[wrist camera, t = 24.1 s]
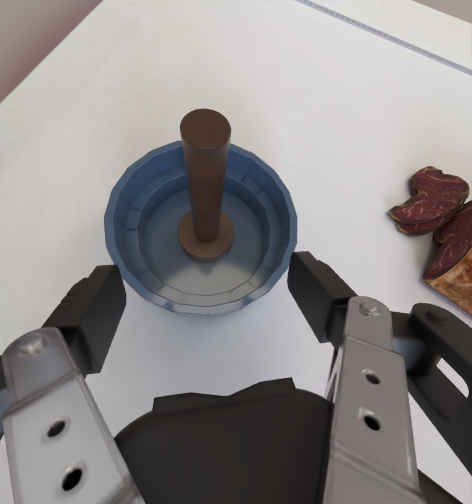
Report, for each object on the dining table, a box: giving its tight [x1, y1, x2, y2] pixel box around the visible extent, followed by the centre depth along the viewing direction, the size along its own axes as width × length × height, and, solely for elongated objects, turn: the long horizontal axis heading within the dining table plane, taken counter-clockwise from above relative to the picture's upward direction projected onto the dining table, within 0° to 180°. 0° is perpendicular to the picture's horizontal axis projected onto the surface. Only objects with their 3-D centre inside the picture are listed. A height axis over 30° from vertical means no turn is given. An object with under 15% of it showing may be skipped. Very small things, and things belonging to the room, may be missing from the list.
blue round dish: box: [104, 141, 297, 318], centre depth 23 cm, size 16×16×6 cm
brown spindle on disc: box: [178, 109, 234, 263], centre depth 18 cm, size 6×6×15 cm
